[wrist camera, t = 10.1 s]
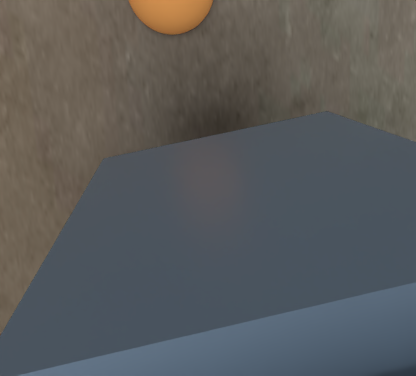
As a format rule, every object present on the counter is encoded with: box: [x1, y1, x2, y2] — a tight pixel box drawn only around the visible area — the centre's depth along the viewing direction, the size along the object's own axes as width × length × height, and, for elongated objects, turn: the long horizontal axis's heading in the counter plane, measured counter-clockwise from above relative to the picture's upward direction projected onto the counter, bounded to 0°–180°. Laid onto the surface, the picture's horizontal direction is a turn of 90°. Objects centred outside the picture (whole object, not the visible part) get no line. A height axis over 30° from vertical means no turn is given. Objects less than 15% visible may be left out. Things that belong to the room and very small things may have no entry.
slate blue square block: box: [0, 111, 416, 376], centre depth 9 cm, size 8×8×9 cm
